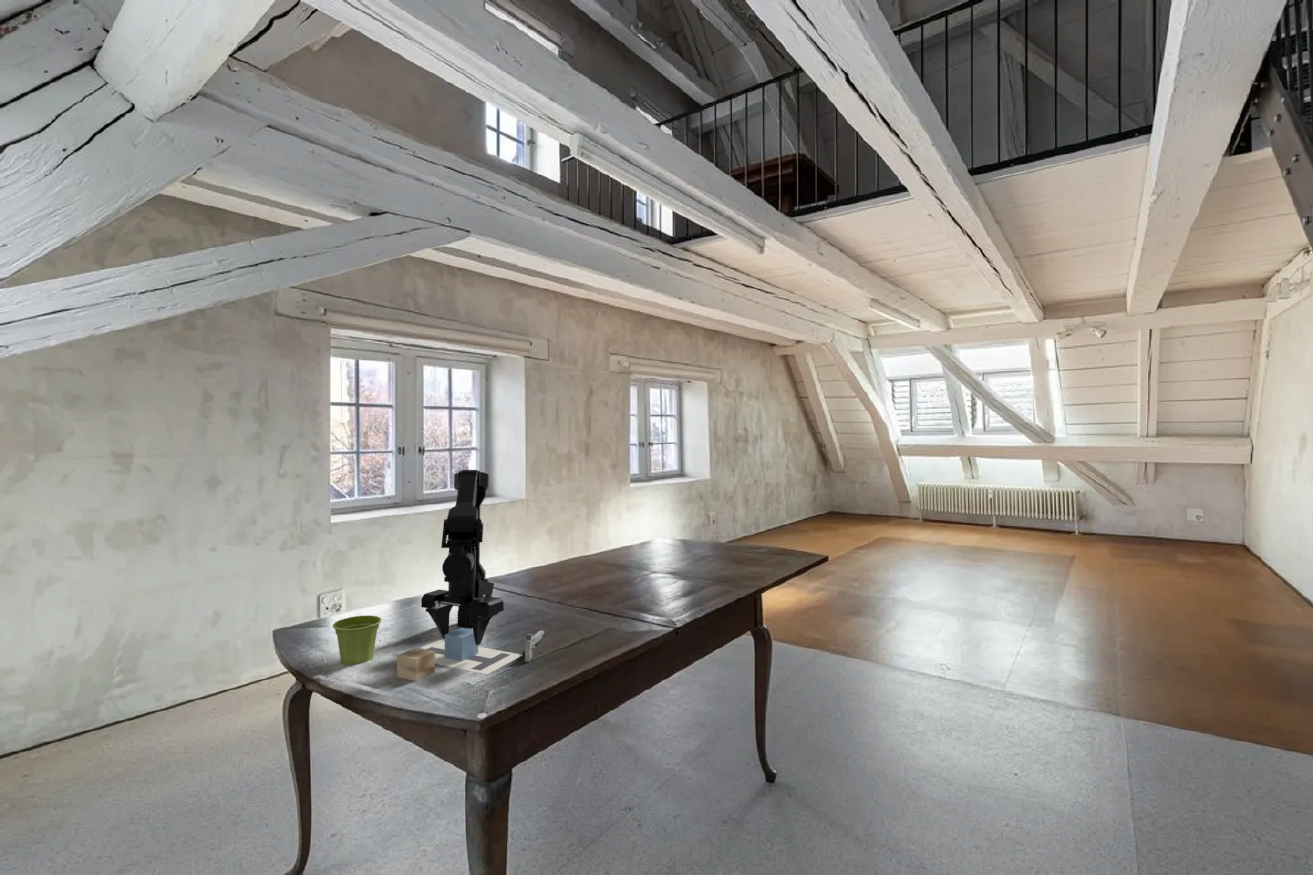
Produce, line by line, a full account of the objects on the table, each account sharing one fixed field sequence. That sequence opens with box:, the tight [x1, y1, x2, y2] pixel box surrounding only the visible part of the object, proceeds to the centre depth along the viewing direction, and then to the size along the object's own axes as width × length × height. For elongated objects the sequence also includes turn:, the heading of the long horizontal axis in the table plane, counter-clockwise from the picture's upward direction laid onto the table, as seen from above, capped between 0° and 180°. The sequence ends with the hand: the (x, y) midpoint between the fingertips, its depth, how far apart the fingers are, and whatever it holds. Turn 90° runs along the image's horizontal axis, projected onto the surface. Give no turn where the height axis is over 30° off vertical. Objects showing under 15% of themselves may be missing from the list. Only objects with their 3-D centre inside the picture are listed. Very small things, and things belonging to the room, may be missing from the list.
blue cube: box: [444, 627, 479, 661], centre depth 130 cm, size 5×5×5 cm
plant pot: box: [332, 614, 382, 665], centre depth 128 cm, size 9×9×9 cm
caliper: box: [524, 630, 545, 663], centre depth 137 cm, size 20×1×6 cm, turn 2°
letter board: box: [420, 639, 523, 675], centre depth 130 cm, size 12×24×1 cm, turn 66°
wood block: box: [396, 647, 436, 682], centre depth 120 cm, size 5×5×5 cm
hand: (461, 641), depth 130 cm, fingers open, 9 cm apart
